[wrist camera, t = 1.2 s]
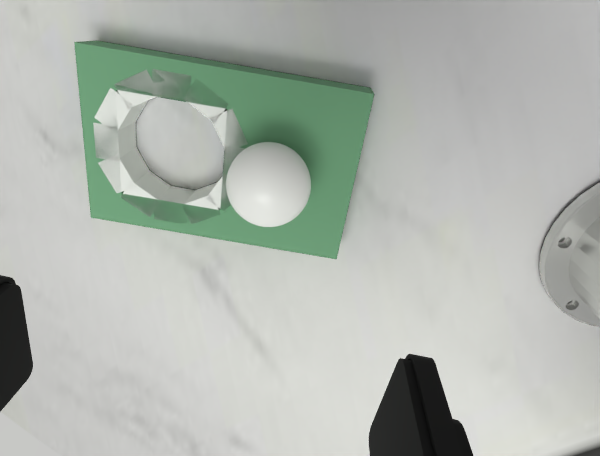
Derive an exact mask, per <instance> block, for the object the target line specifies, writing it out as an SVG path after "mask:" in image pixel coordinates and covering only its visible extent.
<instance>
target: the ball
mask: <svg viewBox="0 0 600 456" xmlns="http://www.w3.org/2000/svg"><path fill="white" fill-rule="evenodd" d="M226 190H227V195H228V198H229V201H230V203H231V205H232V207H233V208H234V210H235V211H236V212H237V213H238V214H239V215H240V216H241V217H242V218H243V219H245V220H246V221H248V222H250V223H252V224H254V225H257V226H261V227H276V226H281V225H284V224H286V223H288V222H290V221H292V220H293V219H294V218H296V217H297V216H298V215H299V214H300V213H301V212H302V210H303V209H304V208H305V206H306V204H307V202H308V199H309V196H310V192H311V178H310V174H309V170H308V168H307V166H306V164H305V162H304V161H303V159H302V158H301V157H300V156H299V155H298V154H297V153H296V152H295V151H294V150H292V149H291V148H289V147H287V146H285V145H283V144H280V143H275V142H262V143H257V144H254V145H251V146H249V147H247V148H246V149H244V150H243V151H242V152H240V153H239V154H238V155H237V156H236V158H235V159H234V160H233V162H232V163H231V166H230V168H229V170H228V173H227V179H226Z"/></svg>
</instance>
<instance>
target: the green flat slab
mask: <svg viewBox="0 0 600 456" xmlns="http://www.w3.org/2000/svg"><path fill="white" fill-rule="evenodd" d="M74 43H75V53H76V64H77V75H78V85H79V96H80V106H81V117H82V127H83V138H84V149H85V159H86V170H87V180H88V191H89V202H90V212H91V218H97V219H103V220H109V221H115V222H121V223H127V224H132V225H138V226H144V227H150V228H156V229H162V230H168V231H174V232H179V233H185V234H191V235H197V236H203V237H209V238H215V239H221V240H226V241H232V242H238V243H244V244H250V245H256V246H262V247H268V248H273V249H279V250H285V251H291V252H297V253H303V254H309V255H315V256H321V257H326V258H332V259H337V254H338V250H339V246H340V241H341V237H342V233H343V228H344V224H345V220H346V215H347V211H348V207H349V202H350V198H351V194H352V189H353V185H354V180H355V176H356V172H357V167H358V163H359V159H360V154H361V150H362V146H363V141H364V137H365V133H366V128H367V124H368V119H369V115H370V111H371V106H372V102H373V98H374V93H373V91H372V89H371V88H369V87H363V86H358V85H352V84H346V83H340V82H334V81H329V80H323V79H317V78H311V77H305V76H300V75H294V74H288V73H282V72H276V71H271V70H265V69H259V68H253V67H247V66H242V65H236V64H230V63H224V62H218V61H213V60H207V59H201V58H195V57H190V56H184V55H178V54H172V53H166V52H161V51H155V50H149V49H143V48H137V47H132V46H126V45H120V44H114V43H108V42H103V41H86V42H74ZM155 97H161V98H167V99H173V100H178V101H184V102H187V103H188V104H190V105H191V106H192V107H194V108H195V109H196V110H197V111H199V112H200V113H201V114H203V115H204V116H205V117H206V118H208V119H209V120H210V121H212V124H213V126H214V128H215V130H216V132H217V134H218V136H219V138H220V140H221V143H222V145H223V147H224V163H223V176H222V177H221V178H220V180H219V181H218V182H217V183H214V184H211V185H208V186H206V187H203V188H200V189H197V190H192V189H186V188H180V187H174V186H170V185H169V184H168V183H166V182H165V181H163V180H162V179H161V178H159V177H158V176H156V175H155V174H154V173H152V172H151V171H150V170H149V169H148V167H147V165H146V163H145V162H144V160H143V158H142V156H141V155H140V153H139V151H138V149H137V147H136V120H137V119H138V117H139V115H140V114H141V112H142V110H143V109H144V107H145V105H146V104H147V102H148V100H151V99H153V98H155ZM262 142H275V143H280V144H283V145H285V146H287V147H289V148H291V149H292V150H294V151H295V152H296V153H297V154H298V155H299V156H300V157H301V158H302V159H303V161H304V162H305V164H306V166H307V168H308V170H309V174H310V178H311V192H310V196H309V199H308V202H307V204H306V206H305V208H304V209H303V210H302V212H301V213H300V214H299V215H298V216H297V217H296V218H294V219H293V220H292V221H290V222H288V223H286V224H284V225H281V226H276V227H261V226H257V225H254V224H252V223H250V222H248V221H246V220H245V219H243V218H242V217H241V216H240V215H239V214H238V213H237V212H236V211H235V210H234V208H233V207H232V205H231V203H230V201H229V198H228V195H227V190H226V179H227V173H228V170H229V168H230V166H231V163H232V162H233V160H234V159H235V158H236V156H237V155H238V154H239V153H240V152H242V151H243V150H244V149H246V148H247V147H249V146H251V145H254V144H257V143H262Z"/></svg>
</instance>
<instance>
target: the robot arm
mask: <svg viewBox="0 0 600 456" xmlns="http://www.w3.org/2000/svg"><path fill="white" fill-rule="evenodd" d="M539 270H540V276H541V281H542V284H543V286H544V288H545V290H546V292H547V294H548V295H549V296H550V298H551V299H552V300H553V302H554V303H555V304H556V305H557V306H558V307H559V308H560V309H561V310H562V311H563V312H564V313H565V314H567V315H569V316H570V317H572V318H574V319H576V320H578V321H580V322H583V323H586V324H589V325H593V326H599V327H600V182H599V183H597V184H596V185H595V186H593V187H592V188H590V189H589V190H587V191H586V192H584V193H583V194H581V195H580V196H579V197H578V198H577V199H575V200H574V201H573V202H572V203H571V204H570V205H569V206H568V207H567V208H566V209H565V210H564V211H563V212H562V213H561V215H560V216H559V217H558V218H557V220H556V221H555V222H554V223H553V225H552V227H551V229H550V231H549V232H548V234H547V236H546V238H545V241H544V244H543V247H542V250H541V253H540V263H539ZM32 368H33V361H32V355H31V349H30V343H29V337H28V331H27V324H26V318H25V312H24V306H23V300H22V294H21V289H20V287H19V286H18V285H16V283H15V281H14V280H13V278H10V277H6V276H1V275H0V411H1V410H2V409H3V408H4V407H5V406H6V404H7V403H8V402H9V401H10V400H11V398H12V397H13V396H14V395H15V394H16V393H17V391H18V390H19V389H20V388H21V387H22V385H23V384H24V383H25V382H26V381H27V379H28V378H29V376H30V374H31V372H32ZM369 450H370V456H473V453H472V450H471V447H470V444H469V441H468V438H467V435H466V432H465V430H464V428H463V426H462V424H461V423H460V422H459V421H458V420H455V419H452V416H451V413H450V410H449V407H448V403H447V400H446V397H445V394H444V390H443V387H442V384H441V381H440V378H439V374H438V371H437V368H436V365H435V362H434V360H433V359H432V358H428V357H423V356H418V355H413V354H408V355H407V357H406V358H405V359H401V358H400V359H399V360H398V362H397V364H396V367H395V369H394V372H393V374H392V377H391V379H390V382H389V384H388V386H387V389H386V391H385V394H384V396H383V399H382V401H381V403H380V406H379V408H378V411H377V413H376V416H375V418H374V420H373V423H372V425H371V428H370V432H369Z"/></svg>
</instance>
